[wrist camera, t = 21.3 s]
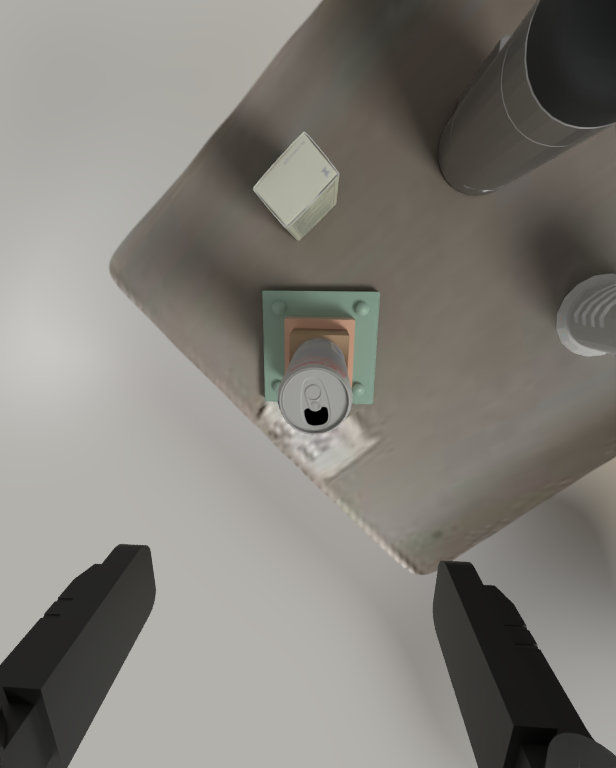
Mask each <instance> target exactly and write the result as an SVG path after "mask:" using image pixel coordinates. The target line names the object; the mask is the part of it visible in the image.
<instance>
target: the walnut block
mask: <svg viewBox="0 0 616 768" xmlns="http://www.w3.org/2000/svg"><path fill="white" fill-rule="evenodd" d="M314 338H323V339H327V340H330V341H332V342H333V343H335V344H336V345H337V346H338V347H339V348H340V350H341V351H342V353H343V355H344V358H345V363H346V367H347V372H348V354H349V333H348V331H347V329H316V328H294V329H293V330H292V331H291V333H290V334H289V364H290V362H291V360H292V357H293V355H294V353H295V352H296V350H297V348H298V347H299V346H300V345H301V344H303V343H304V342H305V341H308V340H310V339H314Z"/></svg>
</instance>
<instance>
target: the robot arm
mask: <svg viewBox="0 0 616 768" xmlns="http://www.w3.org/2000/svg"><path fill="white" fill-rule="evenodd" d="M614 124H616V0H537V1H536V3H535V4H534V5H533V7H532V8H531V9H530V11H529V12H528V14H527V15H526V16H525V18H524V19H523V20H522V22H521V23H520V25H519V26H518V27H517V29H516V30H515V31H514V33H513V34H512V35H506V36H504V37H502V38H501V40H500V41H499V42H498V43H497V45H496V46H495V48H494V49H493V51H492V52H491V53H490V55H489V56H488V58H487V59H486V60H485V62H484V63H483V65H482V66H481V68H480V69H479V70H478V72H477V73H476V75H475V76H474V78H473V79H472V80H471V82H470V83H469V85H468V86H467V87H466V89H465V90H464V92H463V93H462V95H461V96H460V97H459V99H458V104H457V109H456V111H455V113H454V114H453V116H452V117H451V118H450V120H449V121H448V122H447V124H446V126H445V128H444V130H443V132H442V135H441V139H440V142H439V150H438V156H439V165H440V168H441V171H442V174H443V175H444V177H445V179H446V181H447V182H448V183H449V184H450V185H451V186H452V187H453V188H455V189H456V190H457V191H459V192H461V193H464V194H467V195H475V196H477V195H485V194H488V193H491V192H494V191H496V190H498V189H500V188H502V187H504V186H506V185H507V184H508V183H510V182H512V181H514V180H516V179H518V178H520V177H521V176H523V175H525V174H527V173H529V172H530V171H532V170H534V169H536V168H537V167H539V166H541V165H543V164H545V163H546V162H548V161H550V160H552V159H554V158H555V157H557V156H559V155H561V154H563V153H564V152H566V151H568V150H570V149H571V148H573V147H575V146H577V145H579V144H580V143H582V142H584V141H586V140H588V139H589V138H591V137H593V136H595V135H596V134H598V133H600V132H602V131H603V130H605V129H607V128H609V127H611V126H612V125H614ZM155 594H156V588H155V579H154V572H153V565H152V558H151V551H150V548H149V547H148V546H146V545H128V544H120V545H118V546H117V547H115V548H114V550H113V551H112V552H111V553H110V554H109V556H108V557H107V558H106V559H105V561H104V562H103V563H102V564H94V565H93V566H91V567H90V568H89V569H88V570H86V571H85V572H83V573H82V574H81V575H79V576H78V577H76V578H75V579H74V580H73V581H72V582H71V583H70V585H69V586H68V587H67V588H66V589H65V590H64V592H63V593H62V594H61V595H60V596H59V597H58V600H57V602H54V603H53V604H52V605H51V607H50V608H49V609H48V610H47V612H45V614H44V617H43V618H40V619H39V621H38V622H37V623H36V624H35V625H34V626H33V628H32V629H31V630H30V631H29V632H28V634H27V635H26V636H25V637H24V638H23V639H22V640H21V641H20V643H19V644H18V645H17V646H16V647H15V648H14V650H13V651H12V652H11V653H10V654H9V655H8V657H7V658H6V659H5V660H4V661H3V662H2V664H1V665H0V768H67V767H68V765H69V763H70V762H71V760H72V758H73V756H74V754H75V752H76V751H77V749H78V747H79V745H80V743H81V741H82V739H83V737H84V736H85V734H86V732H87V730H88V728H89V726H90V725H91V723H92V721H93V719H94V717H95V715H96V713H97V711H98V710H99V708H100V706H101V704H102V702H103V700H104V699H105V697H106V695H107V693H108V691H109V689H110V687H111V686H112V684H113V682H114V680H115V678H116V676H117V674H118V673H119V671H120V669H121V667H122V665H123V663H124V661H125V659H126V658H127V656H128V654H129V652H130V650H131V648H132V647H133V645H134V643H135V641H136V639H137V637H138V635H139V634H140V632H141V630H142V628H143V626H144V624H145V622H146V621H147V619H148V617H149V615H150V613H151V610H152V607H153V604H154V601H155ZM433 619H434V625H435V630H436V634H437V637H438V640H439V643H440V646H441V650H442V653H443V656H444V659H445V663H446V666H447V669H448V672H449V675H450V679H451V682H452V685H453V688H454V691H455V695H456V698H457V701H458V704H459V707H460V711H461V714H462V717H463V720H464V723H465V726H466V730H467V733H468V736H469V739H470V743H471V746H472V749H473V752H474V755H475V758H476V762H477V765H478V768H616V756H615V755H614V754H613V753H612V752H610V751H609V750H608V749H606V748H605V747H603V746H602V745H601V744H599V743H597V742H595V741H594V739H593V738H592V737H591V735H590V734H589V732H588V731H587V729H586V727H585V726H584V724H583V722H582V720H581V719H580V717H579V715H578V714H577V712H576V710H575V709H574V707H573V705H572V703H571V702H570V700H569V698H568V697H567V695H566V693H565V692H564V690H563V688H562V686H561V685H560V683H559V681H558V679H557V678H556V676H555V674H554V672H553V671H552V669H551V667H550V666H549V664H548V662H547V660H546V659H545V657H544V655H543V654H542V652H541V650H539V649H538V647H537V643H536V642H535V640H534V638H533V636H532V635H531V633H530V631H529V630H527V628H526V624H525V623H524V621H523V619H522V618H521V616H520V614H519V612H518V611H517V609H516V607H515V606H514V604H513V603H512V602H511V601H510V600H509V599H508V598H507V597H506V596H505V595H504V594H503V593H502V592H501V591H500V590H499V589H497V587H495V586H492V585H483V583H482V581H481V579H480V577H479V576H478V574H477V572H476V570H475V568H474V566H473V565H472V564H471V563H470V562H457V561H440V563H439V566H438V573H437V579H436V586H435V594H434V601H433Z"/></svg>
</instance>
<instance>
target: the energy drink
mask: <svg viewBox="0 0 616 768" xmlns="http://www.w3.org/2000/svg"><path fill="white" fill-rule="evenodd" d="M278 404H279V408H280V410H281V413H282V415H283V417H284V419H285V420H286V421H287V422H288V424H290V425H291V426H292V427H293V428H295V429H296V430H298V431H300V432H303V433H306V434H311V435H319V434H324V433H327V432H330V431H332V430H334V429H335V428H337V427H338V426H339V425H340V424H341V423H342V422H343V421H344V419H345V418H346V417H347V415H348V413H349V411H350V409H351V405H352V389H351V385H350V380H349V376H348V372H347V367H346V363H345V358H344V355H343V353H342V351H341V350H340V348H339V347H338V346H337V345H336V344H335V343H333V342H332V341H330V340H327V339H323V338H314V339H310V340H308V341H305V342H304V343H303V344H301V345H300V346H299V347H298V348H297V350H296V352H295V353H294V355H293V357H292V360H291V362H290V364H289V366H288V368H287V370H286V372H285V374H284V376H283V378H282V380H281V383H280V385H279V388H278Z"/></svg>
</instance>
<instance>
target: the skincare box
mask: <svg viewBox="0 0 616 768" xmlns="http://www.w3.org/2000/svg"><path fill="white" fill-rule="evenodd" d="M338 181H339V172H338V171H337V170H336V168H335V167H334V166H333V165H332V163H331V162H330V161H329V159H328V158H327V157H326V156H325V154H324V153H323V152H322V151H321V149H320V148H319V147H318V146H317V144H316V143H315V142H314V141H313V140H312V139H311V137H310V136H309V135H308V134H307V133H306V132H303V133H302V134H301V135H300V136H299V137H298V138H297V139H296V140H295V141H294V142H293V143H292V144H291V145H290V146H289V147H288V148H287V149H286V151H285V152H284V153H283V154H282V155H281V156H280V157H279V158H278V159H277V161H276V162H275V163H274V164H273V165H272V166H271V167H270V168H269V170H268V171H267V172H266V173H265V174H264V175H263V177H262V178H261V179H260V180H259V181H258V182H257V184H256V185H255V186H254V187H253V190H254V192H255V193H256V194H257V195H258V197H259V198H260V199H261V200H262V202H263V203H264V204H265V205H266V207H267V208H268V209H269V210H270V211H271V213H272V214H273V215H274V216H275V217H276V218H277V220H278V221H279V222H280V223H281V224H282V225H283V226H284V227H285V229H287V231H288V232H289V233H290V234H291V235H292V236H293V237H294V238H295V239H296V240H297V241H299V240H301V239H302V238H303V237H304V236H305V235H306V234H307V233H308V232H309V231H310V230H311V229H312V228H313V227H314V226H315V225H316V224H317V223H318V222H319V221H320V220H321V219H322V218H323V217H324V216H325V215H326V214H327V213H328V212H329V211H330V210H331V209H332V208H333V207H334V206H335V205H336V202H337V192H338Z"/></svg>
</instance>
